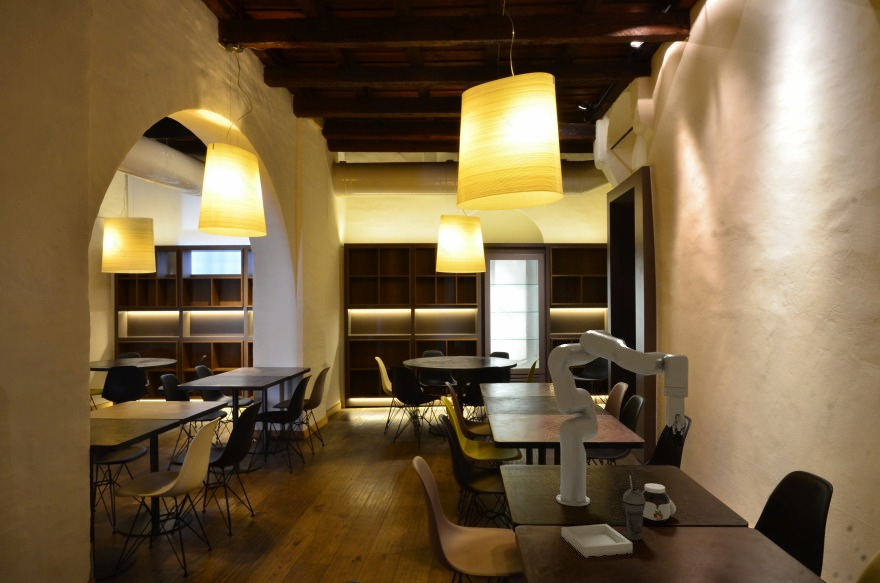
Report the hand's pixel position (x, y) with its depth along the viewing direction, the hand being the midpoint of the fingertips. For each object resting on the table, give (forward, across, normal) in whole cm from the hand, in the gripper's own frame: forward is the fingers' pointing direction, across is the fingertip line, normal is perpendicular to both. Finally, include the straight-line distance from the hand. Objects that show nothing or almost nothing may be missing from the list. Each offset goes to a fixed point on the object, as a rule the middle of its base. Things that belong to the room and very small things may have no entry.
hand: (675, 442), depth 199 cm
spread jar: (+30, -12, -4) cm, 33 cm away
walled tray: (+30, +18, -26) cm, 43 cm away
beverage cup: (+30, +8, -13) cm, 34 cm away
